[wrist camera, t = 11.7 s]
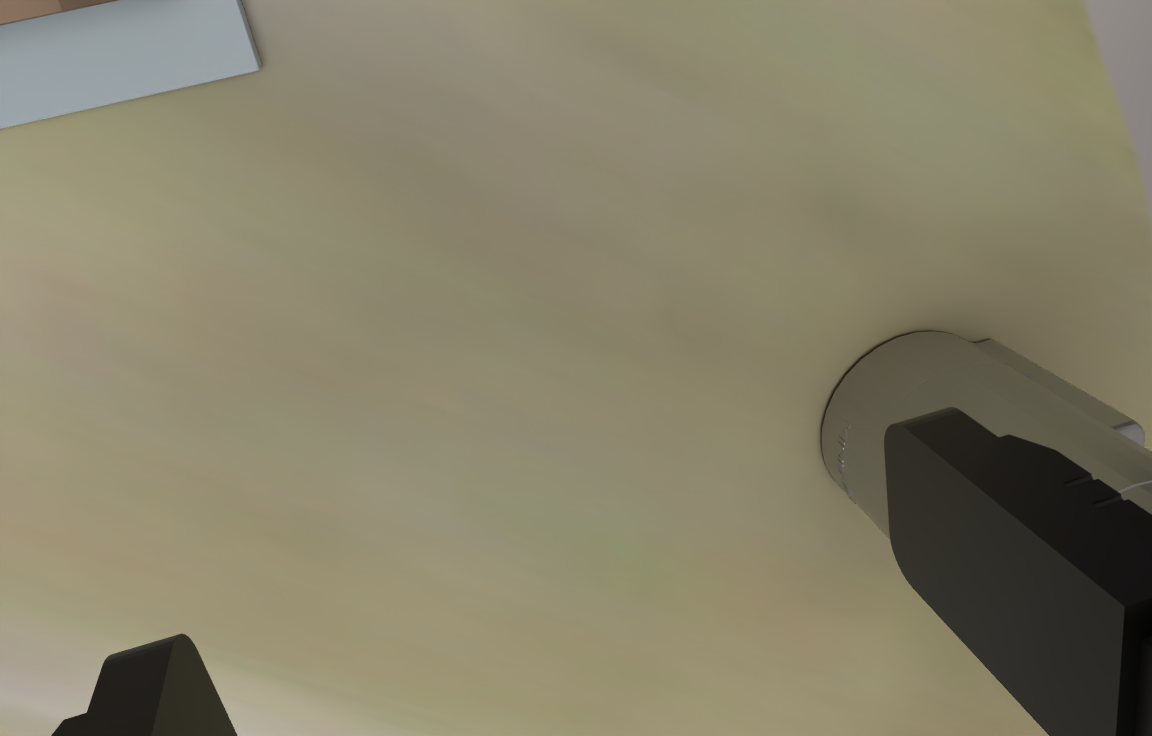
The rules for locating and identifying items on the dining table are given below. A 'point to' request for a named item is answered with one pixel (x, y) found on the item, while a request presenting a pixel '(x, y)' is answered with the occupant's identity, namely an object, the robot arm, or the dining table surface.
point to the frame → (40, 8)
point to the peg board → (118, 54)
